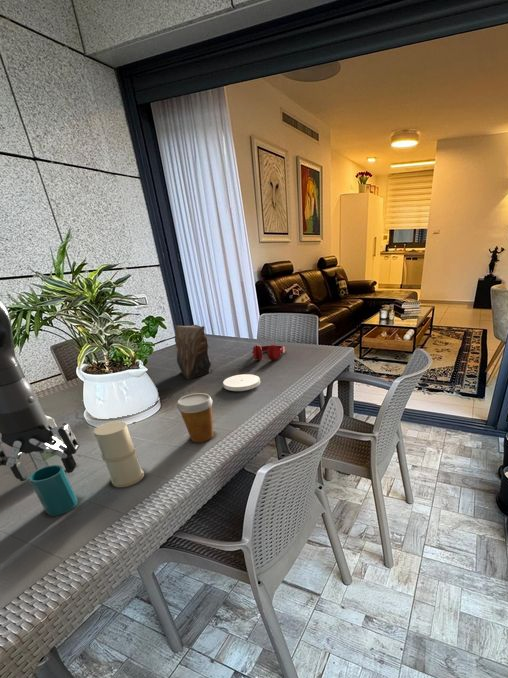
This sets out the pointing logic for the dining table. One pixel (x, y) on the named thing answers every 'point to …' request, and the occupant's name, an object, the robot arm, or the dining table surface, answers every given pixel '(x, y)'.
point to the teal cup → (53, 489)
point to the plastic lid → (241, 382)
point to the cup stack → (119, 453)
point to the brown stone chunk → (192, 351)
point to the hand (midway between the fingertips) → (48, 474)
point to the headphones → (268, 351)
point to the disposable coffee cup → (197, 416)
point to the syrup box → (47, 453)
